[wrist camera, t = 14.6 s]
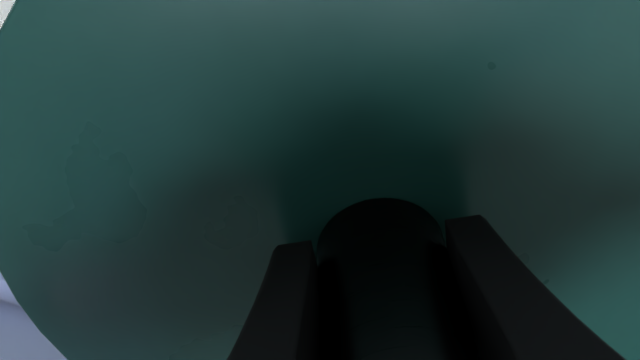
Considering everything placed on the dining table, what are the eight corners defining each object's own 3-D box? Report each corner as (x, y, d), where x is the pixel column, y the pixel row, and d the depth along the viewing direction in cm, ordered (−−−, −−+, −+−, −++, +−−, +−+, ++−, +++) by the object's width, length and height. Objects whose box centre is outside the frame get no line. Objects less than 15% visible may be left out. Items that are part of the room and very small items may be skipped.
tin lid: (-98, 284, 13) (-281, 529, 9) (260, -530, 7) (196, -1032, 2) (413, 476, 18) (448, 688, 14) (904, 130, 12) (1241, 338, 8)
